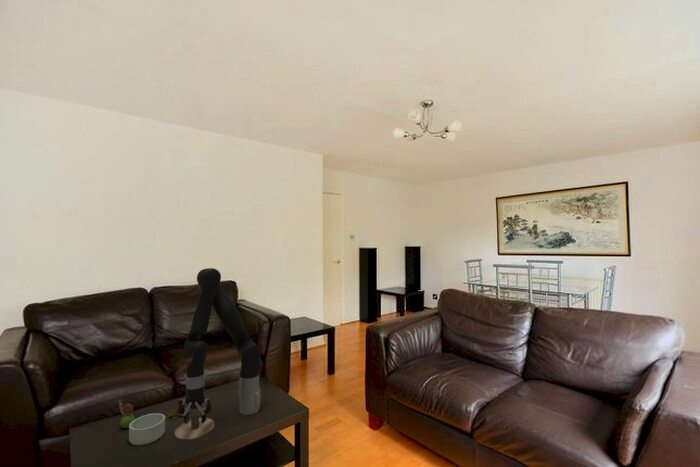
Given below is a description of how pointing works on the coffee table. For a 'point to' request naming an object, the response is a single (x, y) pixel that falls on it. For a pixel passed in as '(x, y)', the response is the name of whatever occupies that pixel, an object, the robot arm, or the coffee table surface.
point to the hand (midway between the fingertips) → (195, 422)
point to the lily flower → (175, 413)
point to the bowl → (146, 429)
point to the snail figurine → (126, 415)
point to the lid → (194, 428)
